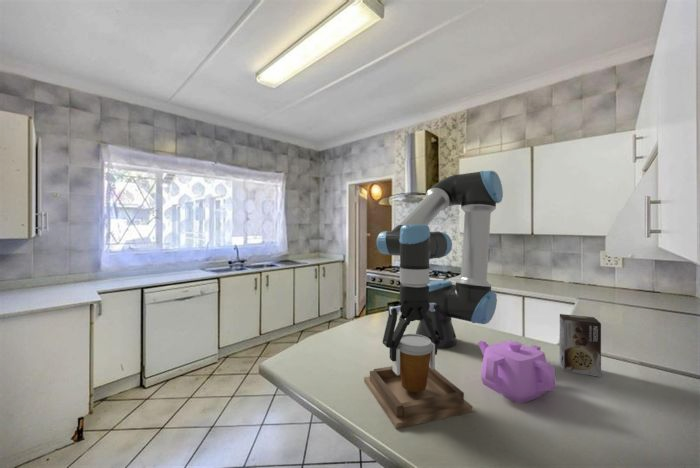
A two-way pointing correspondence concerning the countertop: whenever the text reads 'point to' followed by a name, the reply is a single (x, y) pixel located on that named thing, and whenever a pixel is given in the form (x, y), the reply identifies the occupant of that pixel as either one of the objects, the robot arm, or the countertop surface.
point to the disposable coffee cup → (414, 361)
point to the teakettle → (516, 370)
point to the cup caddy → (416, 398)
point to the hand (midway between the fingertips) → (413, 369)
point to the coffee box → (580, 344)
